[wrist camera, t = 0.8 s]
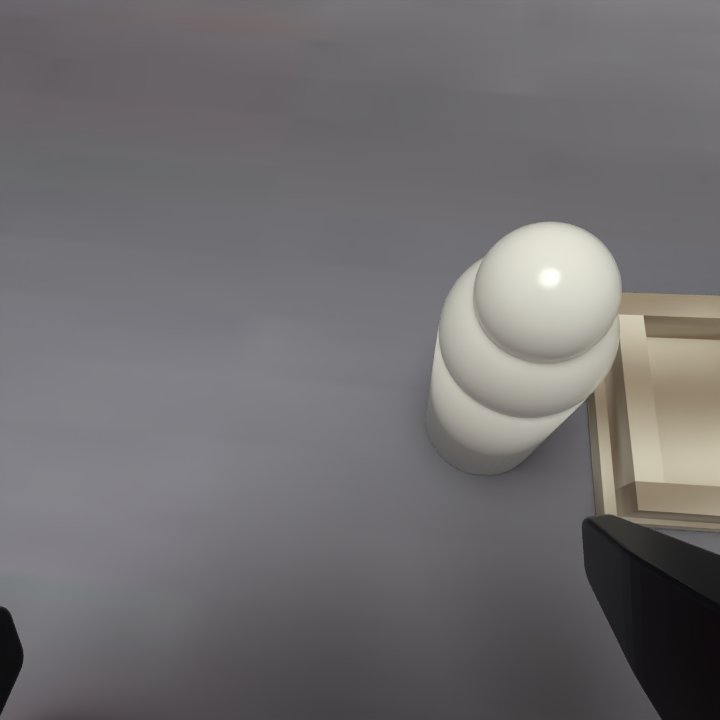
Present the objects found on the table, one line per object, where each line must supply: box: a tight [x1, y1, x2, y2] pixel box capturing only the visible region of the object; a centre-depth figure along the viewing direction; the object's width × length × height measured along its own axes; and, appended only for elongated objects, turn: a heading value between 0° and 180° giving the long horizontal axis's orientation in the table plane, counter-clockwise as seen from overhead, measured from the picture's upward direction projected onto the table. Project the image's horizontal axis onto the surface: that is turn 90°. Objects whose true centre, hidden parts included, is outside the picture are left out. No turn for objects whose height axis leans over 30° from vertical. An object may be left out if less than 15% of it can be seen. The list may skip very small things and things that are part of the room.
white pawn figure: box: [426, 222, 622, 476], centre depth 18 cm, size 5×5×13 cm
